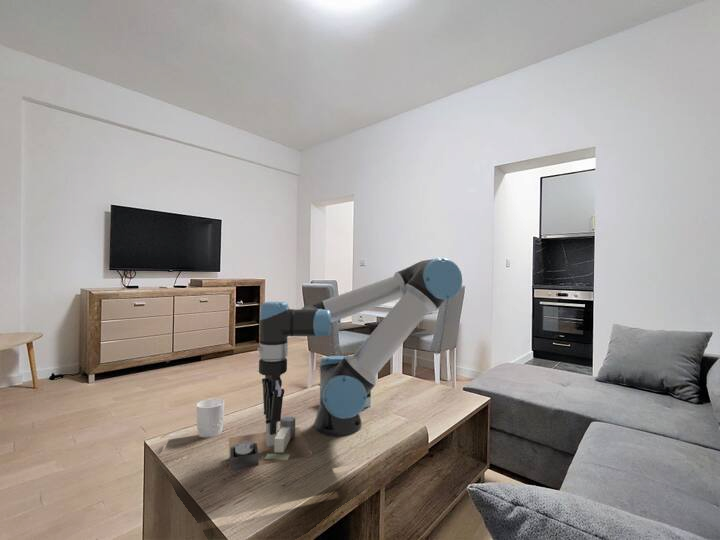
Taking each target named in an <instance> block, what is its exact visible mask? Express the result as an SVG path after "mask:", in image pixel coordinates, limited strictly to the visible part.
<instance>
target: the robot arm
mask: <svg viewBox="0 0 720 540" xmlns="http://www.w3.org/2000/svg"><path fill="white" fill-rule="evenodd" d="M462 285H463V275H462V271H461V269H460V268H459V266H458V265H457V264H456V263H455V262H454V261H452V260H451V259H449V258H443V257H434V258H431V259H425V260H421V261H419V262H417V263H414V264H412V265H410V266H409V267H406V268H403V269H401V270H399V271H396V272H395V273H394V275H393V276H391V277H388V278H385V279H382V280H379V281H376V282H373V283H371V284H367V285H364V286H362V287H359V288H356V289H353V290H349V291H347V292H344V293H342V294H341V293H340V294H339V295H336V296H333V297H330V298H327V299H325V300H321V301H318V302H315V303H313V304H307V305H304V306H303V307H301V308H299V309H293V308H289V307H290V306H289V303H288V302H286V301H265V302H262V304H261V305H260V311H259V312H260V315H259V347H257V351H258V352H259V353H258V355H259V358H260V359H259V361H258V373H259V374H260V375H262V376H264V378H261V383H262V394H263V396H262V397H263V415H264V416H265V432H266V446H267V447H269V446H273V445H274V440H275V437H276V435H277V430H278V423H280V420H281V418H282V408H283V399H284V394H285V389H284V388H282V385H283V384H282V383H283V382H282V379H281V376H282V375H283V374H285V373H286V372H287V371H288V358H287V357H288V351H289V350H288V345H289V343H288V339H289V338H288V337H317V338H319V337H327V336H329V335H330V334H331V333H332V332H331V330H332V323H334V322H337V321H339V320H342V319H345V318H348V317H351V316H354V315H356V314H357V315H358V314H360V313H362V312H366V311H369V310H370V309H374V308H376V307H379V306H382V305H385V304H388V303H390V302H394V301H397V300H398V301H397V302H396V304H395V305H394V306H393V307H392V308H391V309H390V311H388V313H387V314H386V315H385V316H384V318H383V319H382V320H381V321H380V323H379V324H378V325H377V327H376V328H375V329H374V330H373V331H372V332H371V333H370V334H369V336H368V337H367V338H366V339H365V340H364V342H363V343H362V344H361V345H360V346H359V348H358V349H357V350H356V351H355V353H354V354H352V355H331V356H330V355H329V356H324V357H322V358H321V359H320V365H319V368H320V369H319V370H320V374H319V377H320V378H319V380H320V381H319V384H320V385H319V386H320V387H319V406H318V407H319V408H318V411H317V412H316V413H317V414H316V417H315V419H314V424H313V425H314V426H313V427H314V428H313V429H315V431H316V432H317V433H319V434H321V435H325V436H329V437H345V436H350V435H353V434H356V433H357V432H359V431H360V430H361V429H362V425H363V423H362V418H361V415H360V413H361V412H362V411H363V409H365V408H364V406H365V404H366V400H367V394H368V393H369V392H370V391H371V392H372V390H373V389H374V387H375V386H376V384H377V383H376V376H377V375H378V374H379V372H380V371H381V370H382V369H383V368H384V366H385V365H386V364H387V363H388V361H389V360H390V359H391V358H392V357H393V355H394V354H395V353H396V351H397V350H399V348H400V347H401V346H402V345H403V343H404V342H405V341H406V340H407V339H408V337H409V336H410V335H411V333H412V332H413V331H414V330H415V329H416V327H417V326H418V325H419V324H420V323H421V321H423V319H424V318H425V316H426V315H427V314H428V313H429V312H437V311H438V309H439V308H440V307H441V306H442V305H443V303H444V302H445V301H446V300H450V299H452V298H454V297H456V295H458V293H459V292H460V290H461V289H462Z"/></svg>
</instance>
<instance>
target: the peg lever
mask: <svg viewBox="0 0 720 540" xmlns="http://www.w3.org/2000/svg"><path fill="white" fill-rule="evenodd" d="M295 428H296V418H295V416H284V417H281V420H280V421H279V430H280V431H279V432H278V434H277V435H276V437H275V440H274V452H284V450H285V448H286V446H287V444H288V442H289V440H290V439H292V438H294V437H295Z"/></svg>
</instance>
